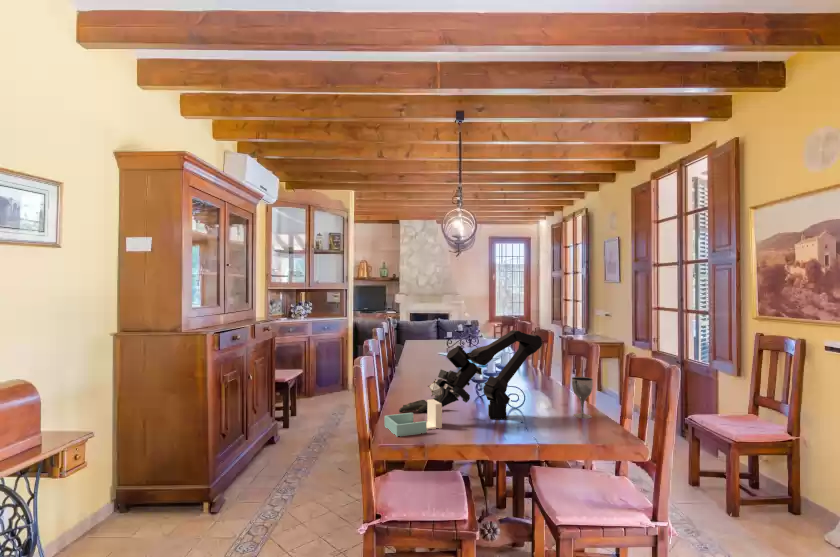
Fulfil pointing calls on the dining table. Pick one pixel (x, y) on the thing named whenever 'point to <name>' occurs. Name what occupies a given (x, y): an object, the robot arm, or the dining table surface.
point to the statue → (417, 405)
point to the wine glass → (582, 392)
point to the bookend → (434, 414)
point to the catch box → (404, 425)
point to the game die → (435, 389)
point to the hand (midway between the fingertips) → (438, 407)
